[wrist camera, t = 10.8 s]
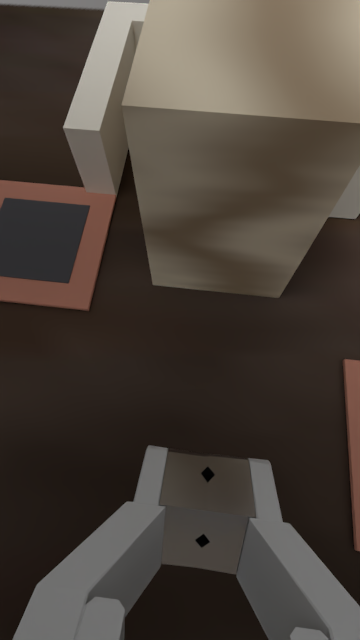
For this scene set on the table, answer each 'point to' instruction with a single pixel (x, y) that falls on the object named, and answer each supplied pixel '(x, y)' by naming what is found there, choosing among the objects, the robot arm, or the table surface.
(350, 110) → the maple block
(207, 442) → the table surface
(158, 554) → the robot arm
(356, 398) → the plate
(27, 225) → the plate
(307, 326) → the table surface
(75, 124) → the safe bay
